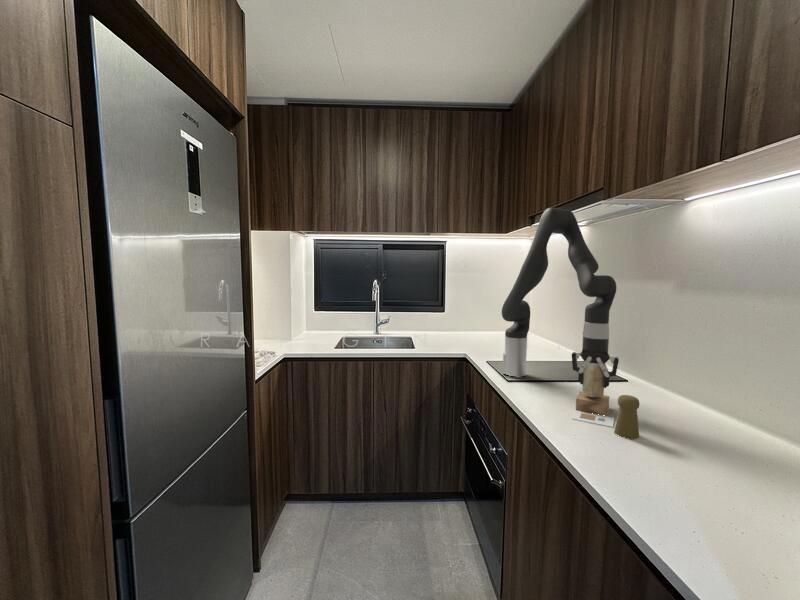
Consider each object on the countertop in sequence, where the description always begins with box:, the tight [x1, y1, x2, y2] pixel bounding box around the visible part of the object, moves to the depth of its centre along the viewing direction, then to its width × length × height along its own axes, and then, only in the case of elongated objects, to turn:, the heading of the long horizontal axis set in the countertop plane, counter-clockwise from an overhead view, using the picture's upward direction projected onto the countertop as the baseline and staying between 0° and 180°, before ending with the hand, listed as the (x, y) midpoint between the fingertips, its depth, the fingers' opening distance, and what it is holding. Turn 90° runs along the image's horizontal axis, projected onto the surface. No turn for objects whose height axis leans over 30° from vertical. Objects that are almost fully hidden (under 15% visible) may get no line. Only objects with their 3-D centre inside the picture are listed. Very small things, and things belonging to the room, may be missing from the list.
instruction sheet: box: [571, 409, 615, 428], centre depth 112 cm, size 11×8×1 cm
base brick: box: [575, 390, 610, 416], centre depth 120 cm, size 9×9×4 cm
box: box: [581, 360, 607, 397], centre depth 119 cm, size 5×4×11 cm
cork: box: [613, 394, 641, 440], centre depth 101 cm, size 6×6×11 cm
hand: (593, 385), depth 119 cm, fingers closed on box, 6 cm apart
